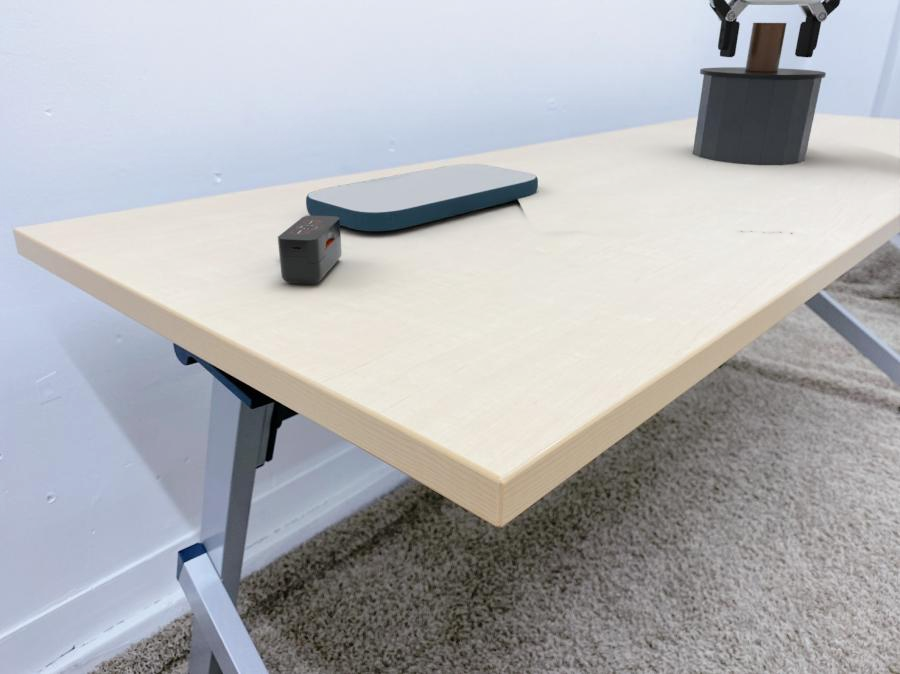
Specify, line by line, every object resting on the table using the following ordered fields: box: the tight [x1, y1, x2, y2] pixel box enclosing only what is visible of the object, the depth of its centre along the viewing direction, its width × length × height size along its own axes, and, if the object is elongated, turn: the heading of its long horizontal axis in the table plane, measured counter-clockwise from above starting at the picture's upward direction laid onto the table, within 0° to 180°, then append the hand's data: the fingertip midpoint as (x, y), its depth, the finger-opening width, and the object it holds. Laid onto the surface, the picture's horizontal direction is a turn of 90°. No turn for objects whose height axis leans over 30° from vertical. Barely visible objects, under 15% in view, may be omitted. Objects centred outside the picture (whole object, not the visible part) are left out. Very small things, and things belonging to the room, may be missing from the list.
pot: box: [692, 75, 823, 166], centre depth 91 cm, size 14×14×10 cm
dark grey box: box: [277, 215, 343, 285], centre depth 50 cm, size 5×7×3 cm, turn 173°
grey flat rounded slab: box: [305, 163, 539, 232], centre depth 69 cm, size 24×12×2 cm, turn 136°
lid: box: [699, 22, 827, 79], centre depth 88 cm, size 15×15×7 cm
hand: (765, 56), depth 88 cm, fingers open, 9 cm apart
